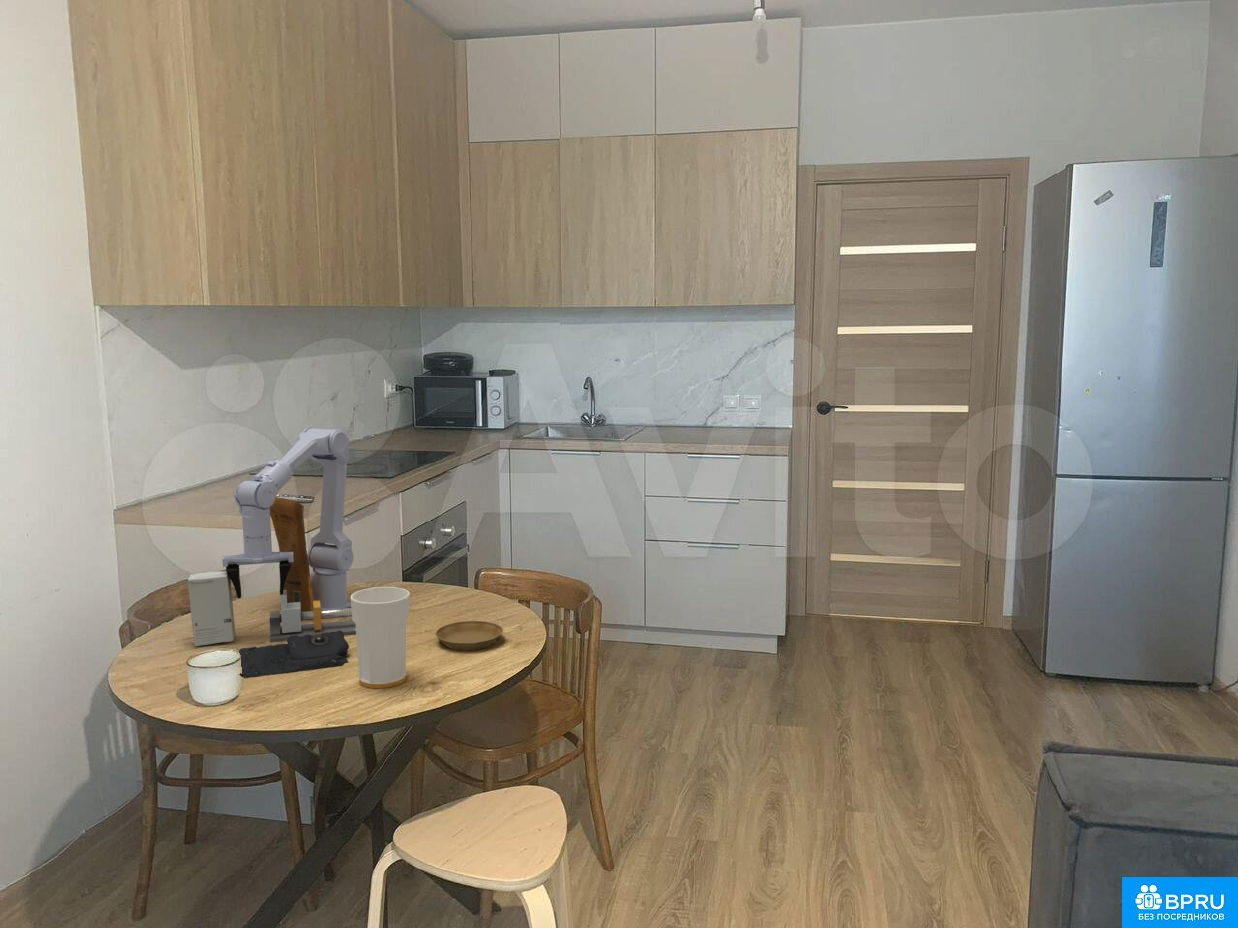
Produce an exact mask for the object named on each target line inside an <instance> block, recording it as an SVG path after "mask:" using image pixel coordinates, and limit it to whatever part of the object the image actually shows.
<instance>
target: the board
mask: <svg viewBox="0 0 1238 928" xmlns="http://www.w3.org/2000/svg"><path fill="white" fill-rule="evenodd" d="M280 627H281V630H280V636H270V638H269V640H270V643H279V642H287V638H289V637H290V636H296V635H297V636H298V637H300V636H305V635H307V634H310V635H312V636H313V637H316V638H317V639H322V633H326V632H327V633H329V632H336V631H338V630H340V631H343V634H344V636H354V635H356V624H355V623H354V621H353V620H350V619H349V620H343V621H342V620H339V621H330V622H329V621H328V622H321V630H314V623H306V624H301V631H299V632H288V633H282V625H280Z"/></svg>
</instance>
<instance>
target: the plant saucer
mask: <svg viewBox="0 0 1238 928" xmlns="http://www.w3.org/2000/svg"><path fill="white" fill-rule="evenodd" d="M503 632H504V629H503V627H502V626H501V625H499V624H497V623H494V622H490V621H483V620H482V621H481V620H463V621H455V622H451V623H448V624H445V625H442V626H440V627H439V628H438V629H437V630H435V632H434V633H435V636H436V638H437V639H438V640H439V642H440V643H442V644H443V645H445V647H447V648H450V649H452V650H457V651H473V650H482V649H485V648H488V647H490V646H492V645H493V644H494V643H495V642H497V640H498V639H499V638H500V637H501V636H502V634H504V633H503Z"/></svg>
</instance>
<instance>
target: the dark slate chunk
mask: <svg viewBox="0 0 1238 928" xmlns="http://www.w3.org/2000/svg"><path fill="white" fill-rule="evenodd" d="M286 642H287V643H277V644H269V645H265V646H263V645H262V646H259V647H257V646H252V647H249V646H248V647H243V648H242V647H241V648H239V649H238V652H239V653H240V655H241V667H242V675H243V676H242V675H241V676H242V677H243V679H250V678H251V679H252V678H260V677H264V676H274V675H275V676H276V675H277V676H278V675H284V674H293V673H299V672H300V673H301V672H308V671H315V670H323V669H329V668H331V669H332V668H337V667H342V666H343V665H344V664H347V663H349V661H348V658H347V656H348V650H349V648H350V645H349V643H348V641H347V640H346V639H345V635H344V634H343V631H340V630H338V631H336V632H329V633H327V632H326V633H322V638H316V637H313V636H312V635H310V634H307V635H305V636H300V637H298V636H297V635H296V636H290V637H289V638H287V641H286Z"/></svg>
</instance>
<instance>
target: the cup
mask: <svg viewBox="0 0 1238 928" xmlns="http://www.w3.org/2000/svg"><path fill="white" fill-rule="evenodd" d="M410 600H411V593H410V591H409V590H407V589H404V588H401V587H397V586H377V587H375V586H374V587H373V586H372V587H369V588H364V589H363V588H362V589H360V590H356V591H355V592H353V593H352V594H351V595H350V602H351V607H350V608H352V617H351V619H352V620H353V621H354V623H355V624H356V634H355V635H356V650H357V651H356V654H357V666H358V682H359V684H360V685H361V686H363V687H364V688H370V689H386V688H392V687H396V686H399V685H401V684H403V683H404V682H405V681H407V672H406V671H407V670H406V668H407V666H406V665H407V663H406V662H407V660H406V659H407V620H408V618H409V617H410V615H411V611H410V610H411V601H410Z"/></svg>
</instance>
